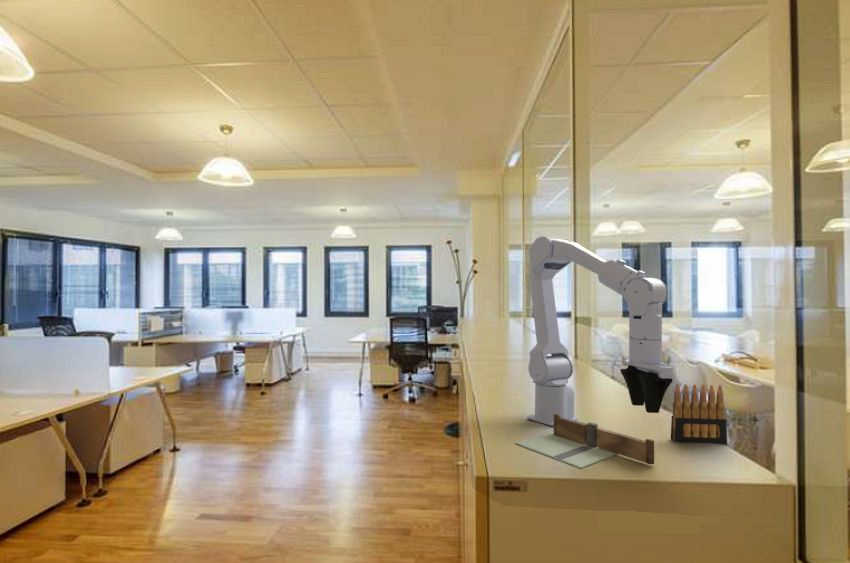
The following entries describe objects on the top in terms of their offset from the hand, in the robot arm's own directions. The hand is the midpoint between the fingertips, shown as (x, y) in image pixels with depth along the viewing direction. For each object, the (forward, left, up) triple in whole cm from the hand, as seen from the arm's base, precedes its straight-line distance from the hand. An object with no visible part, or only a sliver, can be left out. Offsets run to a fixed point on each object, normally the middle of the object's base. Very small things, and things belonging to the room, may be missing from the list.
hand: (644, 408), depth 83 cm
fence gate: (+6, -1, -8) cm, 10 cm away
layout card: (+10, -10, -8) cm, 16 cm away
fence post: (+6, -12, -8) cm, 15 cm away
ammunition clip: (-16, +4, -9) cm, 19 cm away
